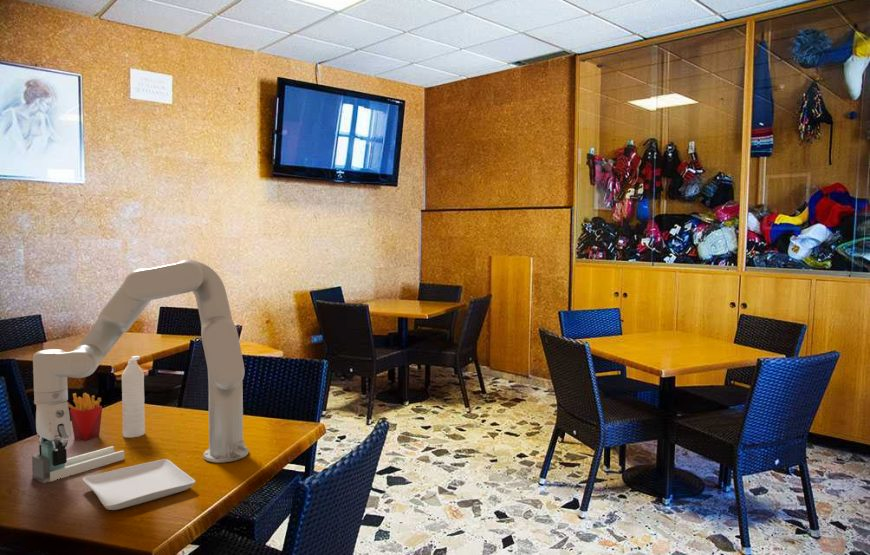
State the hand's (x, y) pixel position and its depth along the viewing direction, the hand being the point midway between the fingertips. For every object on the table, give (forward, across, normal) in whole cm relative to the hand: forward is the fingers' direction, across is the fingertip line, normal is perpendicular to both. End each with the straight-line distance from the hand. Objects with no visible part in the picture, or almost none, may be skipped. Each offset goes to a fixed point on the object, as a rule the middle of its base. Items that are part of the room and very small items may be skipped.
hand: (53, 460), depth 157 cm
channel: (+4, 0, -7) cm, 8 cm away
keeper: (+3, 0, 0) cm, 3 cm away
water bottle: (+4, +16, -31) cm, 35 cm away
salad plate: (+5, -27, -9) cm, 29 cm away
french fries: (+4, +23, -19) cm, 30 cm away
